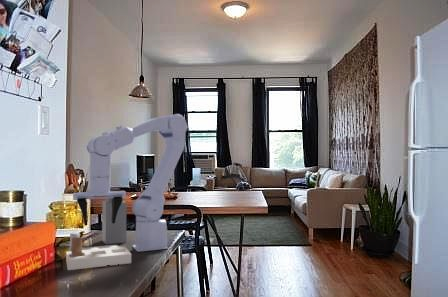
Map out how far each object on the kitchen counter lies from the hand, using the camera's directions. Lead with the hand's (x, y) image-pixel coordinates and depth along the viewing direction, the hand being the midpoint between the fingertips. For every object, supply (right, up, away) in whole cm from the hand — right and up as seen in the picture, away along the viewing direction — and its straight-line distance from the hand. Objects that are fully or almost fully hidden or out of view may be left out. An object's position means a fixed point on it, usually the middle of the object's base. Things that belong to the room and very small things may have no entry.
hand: (99, 223), depth 111 cm
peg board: (+2, -9, -6) cm, 11 cm away
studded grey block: (-2, -10, +3) cm, 10 cm away
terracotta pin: (-4, -9, -8) cm, 13 cm away
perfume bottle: (-2, -10, +20) cm, 22 cm away
